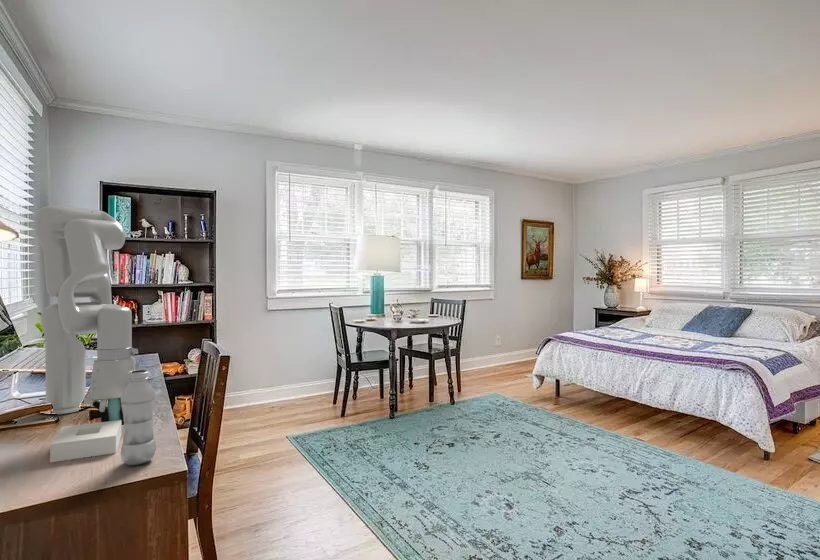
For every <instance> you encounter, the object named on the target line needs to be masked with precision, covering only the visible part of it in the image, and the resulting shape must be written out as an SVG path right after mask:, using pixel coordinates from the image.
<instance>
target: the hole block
mask: <svg viewBox="0 0 820 560" xmlns="http://www.w3.org/2000/svg"><path fill="white" fill-rule="evenodd" d="M122 426H123V425H122V420H117V421H108V422H101V421H100V422H93V423H92V422H91V423H86V424H85V423H84V424H75V425H67V426H62V427H61V428H60V430H59V431H58V433H57V434H56V435H55V437H54V438H53V440H51V442H50V443H49V463H55V462H56V463H57V462H63V461H70V460H76V459H82V458H83V459H84V457H85V458H89V457H91V456H92V457H97V456H104V455H111V454H116V453H117V451H118V447H119V445H120V442H121V438H122V434H123V433H122V428H123V427H122Z"/></svg>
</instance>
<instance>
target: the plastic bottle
mask: <svg viewBox="0 0 820 560" xmlns="http://www.w3.org/2000/svg"><path fill="white" fill-rule="evenodd" d="M149 378H150V375H149V370H148V369H137V370H135V371H131V372H129V378H128V381H129V382H130V383H129V385H128V386H127V387H126V388H125V390H124V391H123V393H122V395H121V409H122V410H123V418H124V425H123V438H122V444H121V449H120V450H121V451H120V458H121V462H122V463H124V465H126V466H135V465H136V466H139V465H141V464H145V463H147V462H150V461H151V460H152V459H153V458H154V456H155V454H156V450H157V445H156V440H155V434H154V426H153V416H154V407H155V400H156V392H155V389H154V387H153V386H152V385H151V383H149V382H148V381H149Z"/></svg>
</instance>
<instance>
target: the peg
mask: <svg viewBox="0 0 820 560" xmlns="http://www.w3.org/2000/svg"><path fill="white" fill-rule="evenodd" d="M107 409H108V421H117V420H121V409H122V405H121V398H117V399H107Z"/></svg>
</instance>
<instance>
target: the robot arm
mask: <svg viewBox="0 0 820 560" xmlns="http://www.w3.org/2000/svg"><path fill="white" fill-rule="evenodd" d="M34 229H35V234H36V237H37V239H38V241H39V244H40V246H41V248H42V251H43V259H44V260H43V262H44V263H43V264H44V276H45V287H46V292H47V294H48V295H49V296H50V297H51V298H54V299H57V303H54V304H51V305H48V306H47V307H45V308H44V309H43V310H42V312H41V318H40V319H41V325H42V331H43V335H44V336H43V337H44V344H45V345H44V347H45V351H44V352H45V404H46V403H51V404H52V405H53V411H52V413H56V414H57V415H65V414H71V413H76V412H80V411H79V408H78V406H79V404H80V403H81V401H82V400H83V399H84V397H85V395H86V398H85V399H84V403H86V404H89V405H91V406H92V407H94V408H95V409H96V410H98V411H99V412H100V422H108V399H117V398H121V395H122V393H123V391H124V390H125V388H126V387H127V386H128V385H129V383H130V382H129V381H128V378H129V372H131V371H135V370H138V367H137V366H138V365H137V361H136V357H133V356H134V355H137V354H139V348H134V347H133V343H132V342H133V341H132V340H133V339H132V338H133V335H132V333H133V331H132V330H133V329H132V328H133V323H132V322H133V317H132V309H130V308H129V307H128V306H122V305H119V304H117V303H116V304H114V303H113V300H112V299H113V298H112V297H113V296H112V286H111V285H112V283H111V280H110V276H109V274H108V272H109V270H110V265H109V262H108V258H107V252H106V250H113V251H114V250H115V251H117V250H120V249H122V248H123V246H124V245H125V242H126V234H125V230H124V228H123V227H122V225H121V223H120V222H119V221H118V220H117V219H115V218H114V217H113V216H111V215H110V214H108V213H107V212H106V211H103V210H100V209H99V210H98V209H93V208H91V209H88V208H81V207H72V206H63V205H48V206H43V207H41V208H39V209H38V210H37V211H36V213H35V216H34ZM86 298H87V299H88V298H89V300H90V301H86V302H85V301H83V302H80V301H78V302H77V301H75V299H86ZM88 334H96V349H97V351H96V359H95V360H94V361H93V365H92V370H91V377H90V390H89V391H88V393H87V394H86V392H87V391H86V390H87V389H86V386H87V383H86V379H87V377H86V375H87V374H86V373H87V372H86V371H87V370H86V368H87V367H86V366H87V365H86V363H87V362H86V358H87V356H86V355H87V354H86V353H87V352H86V347H85V344H84V343H82V341H81V340H80V339H78V337H77V336H76V335H88ZM121 420H122V426H124V418H123V410H122V408H121Z"/></svg>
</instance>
